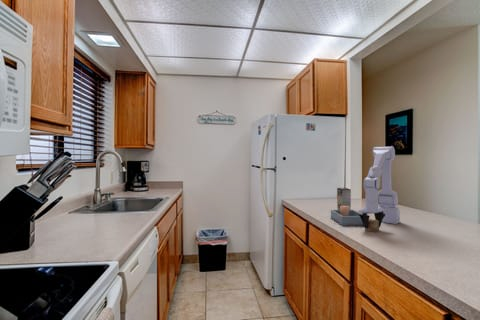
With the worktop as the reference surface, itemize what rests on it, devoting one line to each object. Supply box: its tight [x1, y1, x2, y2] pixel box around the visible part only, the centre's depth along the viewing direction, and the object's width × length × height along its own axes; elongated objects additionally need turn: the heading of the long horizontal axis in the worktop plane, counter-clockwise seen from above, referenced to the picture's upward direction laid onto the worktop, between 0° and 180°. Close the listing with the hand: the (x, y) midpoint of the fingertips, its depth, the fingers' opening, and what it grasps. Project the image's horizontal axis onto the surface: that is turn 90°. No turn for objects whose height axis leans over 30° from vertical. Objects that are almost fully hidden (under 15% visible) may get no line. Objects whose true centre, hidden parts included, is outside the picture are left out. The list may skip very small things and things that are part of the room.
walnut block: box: [364, 218, 380, 233], centre depth 126 cm, size 5×5×5 cm
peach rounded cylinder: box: [340, 206, 349, 216], centre depth 148 cm, size 5×5×7 cm
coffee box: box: [336, 187, 352, 210], centre depth 172 cm, size 9×6×16 cm
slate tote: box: [330, 209, 364, 227], centre depth 144 cm, size 18×14×5 cm
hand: (371, 227), depth 126 cm, fingers closed on walnut block, 7 cm apart
